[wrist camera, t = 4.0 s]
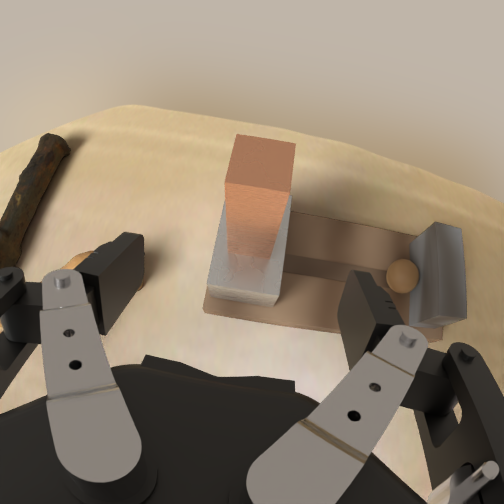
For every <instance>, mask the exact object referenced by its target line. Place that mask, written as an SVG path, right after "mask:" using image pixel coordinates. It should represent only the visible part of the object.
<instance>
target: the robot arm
mask: <svg viewBox="0 0 504 504" xmlns="http://www.w3.org/2000/svg"><path fill="white" fill-rule="evenodd" d="M143 277H144V237H143V235H141V234H135V233H129V232H123V233H122V234H121V235H120V236H119V237H117V238H116V239H115V240H114V241H113V242H108V243H106V244H103V245H101V246H99V247H98V248H97V249H96V250H95V251H93V253H91V254H90V255H89V256H88V258H85V259H84V260H83V261H82V262H81V263H80V264H78V265H77V266H76V267H75V268H74V269H73V270H72V269H59V270H55V271H52V272H50V273H48V274H47V275H46V276H45V277H44V278H43V280H42V283H39V282H25V277H24V273H23V271H22V270H21V269H20V268H17V267H6V268H2V269H0V321H1V324H2V327H3V331H2V332H1V334H0V399H1V397H2V396H3V394H4V392H5V391H6V389H7V388H8V386H9V385H10V383H11V382H12V381H13V379H14V378H15V376H16V375H17V373H18V372H19V370H20V369H21V368H22V366H23V365H24V363H25V362H26V360H27V359H28V358H29V356H30V355H31V354H32V352H33V351H34V349H35V348H36V347H37V345H38V344H42V355H43V365H44V373H45V381H46V388H47V395H46V396H43V397H41V398H39V399H36V400H34V401H32V402H29V403H27V404H24V405H22V406H19V407H17V408H15V409H12V410H10V411H7V412H5V413H2V414H0V504H504V396H503V394H502V392H501V391H500V389H499V387H498V385H497V383H496V381H495V379H494V377H493V376H492V374H491V372H490V370H489V368H488V367H487V365H486V363H485V361H484V360H483V358H482V356H481V355H480V353H479V352H478V351H477V350H476V349H474V348H473V347H471V346H469V345H467V344H465V343H460V342H456V343H453V344H451V346H450V347H449V349H448V351H447V353H443V352H440V351H436V350H433V349H430V348H427V347H428V341H427V339H426V338H425V336H424V335H423V334H422V333H421V332H419V331H418V330H416V329H414V328H412V327H409V326H406V325H405V323H404V321H403V319H402V318H401V316H400V314H399V312H398V310H396V306H395V304H394V303H393V301H392V299H391V297H390V295H389V294H388V293H387V292H386V291H385V290H384V289H383V288H382V287H381V286H377V284H376V282H375V280H374V279H373V277H372V275H371V273H370V272H365V271H358V270H351V271H350V272H349V274H348V277H347V280H346V284H345V287H344V290H343V293H342V296H341V299H340V302H339V306H338V312H337V319H338V324H339V328H340V332H341V336H342V340H343V344H344V348H345V352H346V357H347V361H348V365H349V370H350V372H349V373H348V374H347V375H346V376H345V377H344V379H343V380H342V381H341V382H340V383H339V384H338V385H337V386H336V387H335V389H334V390H333V391H332V392H331V393H330V394H329V395H328V396H327V397H326V398H325V399H324V400H323V401H322V402H321V403H319V402H317V401H315V400H314V399H312V398H310V397H308V396H305V395H303V394H300V393H297V392H295V381H292V380H283V379H275V378H268V377H261V376H247V377H217V376H213V375H211V374H208V373H206V372H203V371H201V370H198V369H196V368H193V367H191V366H188V365H186V364H183V363H181V362H177V361H172V360H167V359H163V358H159V357H154V356H150V355H145V357H144V359H143V361H142V363H141V364H128V365H120V366H116V367H112V368H110V366H109V363H108V360H107V357H106V354H105V351H104V348H103V345H102V341H101V338H100V335H99V334H101V335H105V336H106V335H107V333H108V332H109V330H110V329H111V327H112V326H113V324H114V323H115V321H116V320H117V319H118V317H119V316H120V314H121V313H122V311H123V310H124V309H125V307H126V306H127V304H128V303H129V301H130V300H131V299H132V297H133V296H134V294H135V293H136V292H137V290H138V289H139V288H140V286H141V284H142V281H143ZM458 401H459V404H460V406H461V409H462V418H461V421H460V423H459V424H458V421H457V419H456V416H455V413H454V411H453V408H454V407H455V405H456V404H457V403H458ZM399 406H402V407H406V408H410V409H413V410H414V414H415V418H416V422H417V425H418V429H419V433H420V437H421V441H422V445H423V449H424V453H425V458H426V462H427V467H428V471H429V476H430V481H431V486H432V492H431V494H430V495H429V497H428V501H427V502H426V501H425V500H423V499H422V498H421V497H420V496H419V495H418V494H417V493H416V492H414V491H413V490H412V489H411V488H410V487H409V486H408V485H407V484H406V483H404V482H403V481H402V480H401V479H400V478H399V477H398V476H397V475H396V474H395V473H394V472H392V471H391V470H390V469H389V468H388V467H387V466H386V465H385V464H384V463H383V462H382V461H381V460H380V459H379V458H378V457H376V456H375V455H374V454H373V453H372V450H373V449H374V447H375V446H376V444H377V442H378V441H379V439H380V438H381V436H382V435H383V433H384V431H385V430H386V428H387V426H388V425H389V423H390V421H391V420H392V418H393V416H394V414H395V413H396V411H397V409H398V407H399Z"/></svg>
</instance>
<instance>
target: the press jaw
mask: <svg viewBox="0 0 504 504" xmlns="http://www.w3.org/2000/svg"><path fill="white" fill-rule="evenodd" d="M295 145H296V144H295V143H290V142H284V141H278V140H272V139H266V138H260V137H253V136H247V135H240V134H237V135H236V139H235V143H234V147H233V151H232V155H231V158H230V162H229V167H228V171H227V175H226V179H225V202H224V206H223V211H222V215H221V219H220V224H219V228H218V233H217V238H216V242H215V247H214V251H213V256H212V261H211V265H210V270H209V275H208V280H207V286H208V290H209V293H210V296H211V297H215V298H220V299H226V300H232V301H237V302H243V303H249V304H255V305H261V306H267V307H273V306H274V304H275V302H276V300H277V299H278V297H279V293H280V286H281V279H282V271H283V264H284V256H285V248H286V241H287V233H288V225H289V217H290V208H291V200H292V195H289V194H290V189H291V180H292V172H293V163H294V154H295Z"/></svg>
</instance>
